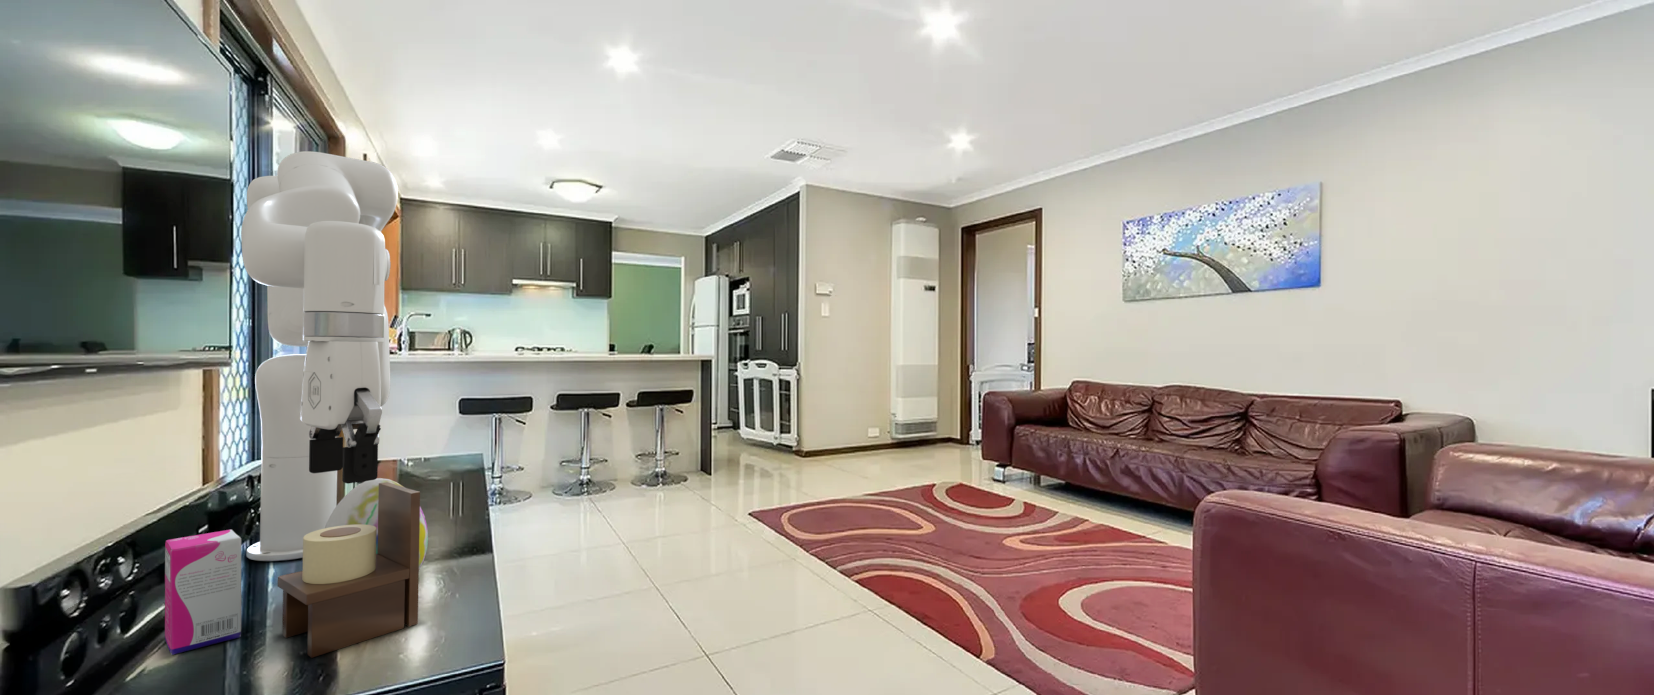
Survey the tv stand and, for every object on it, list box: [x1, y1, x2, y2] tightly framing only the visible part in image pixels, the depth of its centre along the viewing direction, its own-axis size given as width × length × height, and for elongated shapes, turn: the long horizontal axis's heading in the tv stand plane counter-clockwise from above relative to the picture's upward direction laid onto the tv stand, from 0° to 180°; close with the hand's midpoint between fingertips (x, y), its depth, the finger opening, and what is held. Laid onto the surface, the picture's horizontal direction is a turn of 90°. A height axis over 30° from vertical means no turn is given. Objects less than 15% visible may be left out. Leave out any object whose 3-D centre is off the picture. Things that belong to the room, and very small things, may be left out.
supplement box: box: [164, 529, 242, 656], centre depth 72 cm, size 6×6×12 cm
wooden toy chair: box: [277, 482, 421, 659], centre depth 75 cm, size 9×11×16 cm
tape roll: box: [302, 524, 377, 584], centre depth 74 cm, size 7×7×5 cm
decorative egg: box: [325, 477, 429, 570], centre depth 88 cm, size 12×12×15 cm
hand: (342, 476), depth 74 cm, fingers open, 9 cm apart
